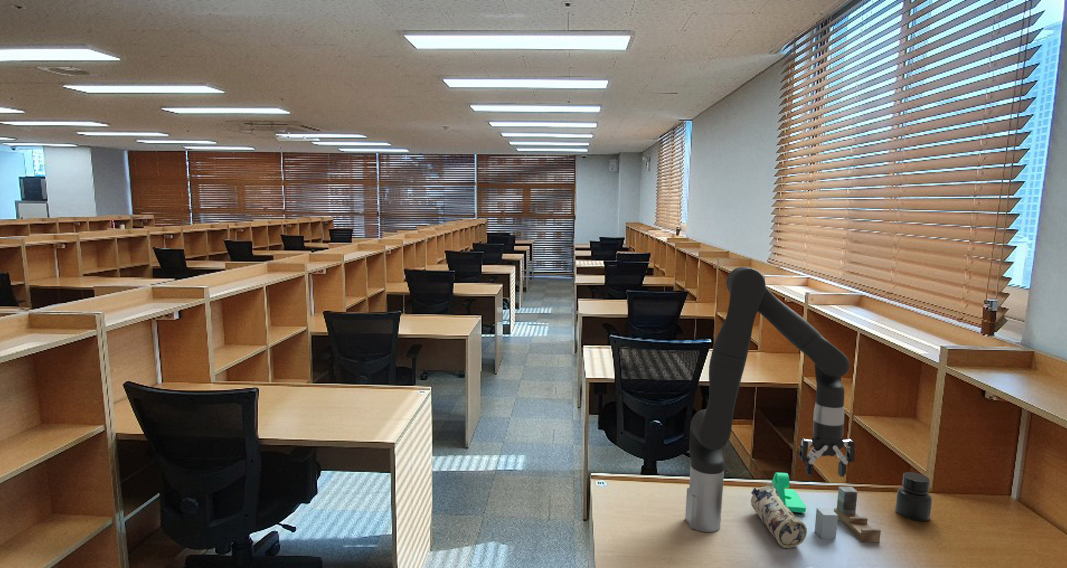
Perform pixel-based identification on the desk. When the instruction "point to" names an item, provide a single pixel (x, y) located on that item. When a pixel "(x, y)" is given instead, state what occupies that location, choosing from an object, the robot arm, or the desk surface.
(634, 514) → the desk surface
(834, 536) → the finger block
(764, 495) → the pencil case
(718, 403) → the robot arm
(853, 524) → the rail
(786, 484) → the camera mount
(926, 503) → the ink bottle
